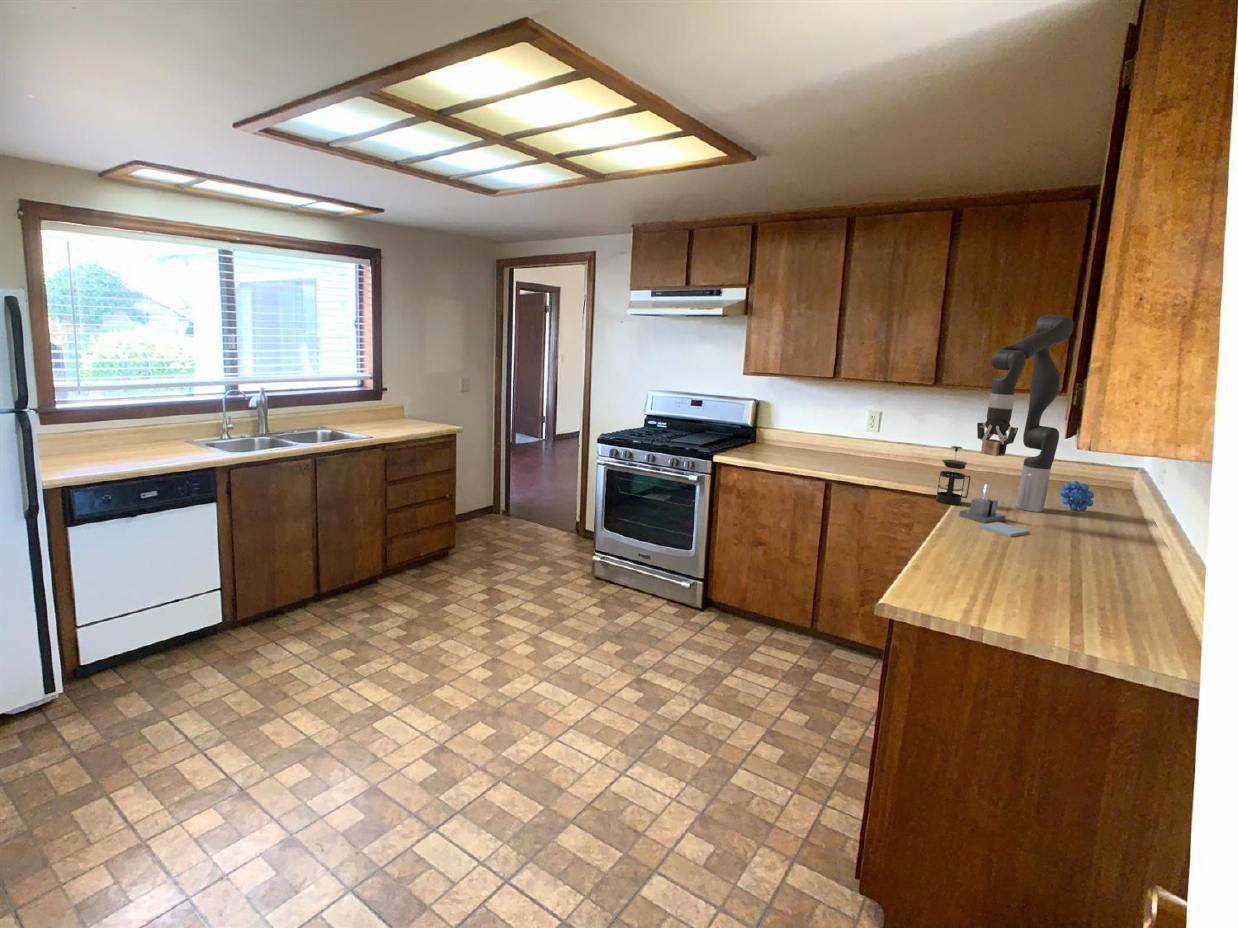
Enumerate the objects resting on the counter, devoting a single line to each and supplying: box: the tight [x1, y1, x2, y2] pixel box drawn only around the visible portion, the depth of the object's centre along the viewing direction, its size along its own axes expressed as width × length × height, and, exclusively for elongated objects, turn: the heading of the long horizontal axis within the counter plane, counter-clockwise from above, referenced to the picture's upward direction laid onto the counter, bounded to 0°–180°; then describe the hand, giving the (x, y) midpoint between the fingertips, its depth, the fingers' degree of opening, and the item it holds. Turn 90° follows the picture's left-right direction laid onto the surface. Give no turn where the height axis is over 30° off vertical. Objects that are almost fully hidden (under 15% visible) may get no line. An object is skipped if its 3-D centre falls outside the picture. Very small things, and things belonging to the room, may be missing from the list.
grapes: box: [1059, 480, 1095, 512], centre depth 254 cm, size 12×7×12 cm, turn 61°
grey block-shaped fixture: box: [958, 483, 1007, 524], centre depth 235 cm, size 12×10×13 cm
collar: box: [980, 438, 1006, 457], centre depth 231 cm, size 6×6×5 cm
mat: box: [978, 521, 1030, 538], centre depth 222 cm, size 11×11×1 cm
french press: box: [934, 445, 971, 506], centre depth 256 cm, size 12×9×23 cm
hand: (992, 452), depth 232 cm, fingers closed on collar, 5 cm apart
